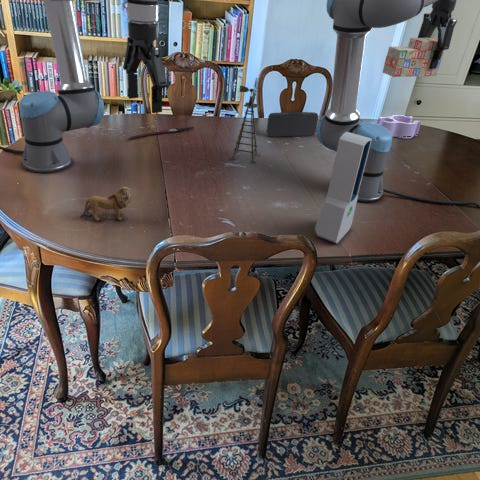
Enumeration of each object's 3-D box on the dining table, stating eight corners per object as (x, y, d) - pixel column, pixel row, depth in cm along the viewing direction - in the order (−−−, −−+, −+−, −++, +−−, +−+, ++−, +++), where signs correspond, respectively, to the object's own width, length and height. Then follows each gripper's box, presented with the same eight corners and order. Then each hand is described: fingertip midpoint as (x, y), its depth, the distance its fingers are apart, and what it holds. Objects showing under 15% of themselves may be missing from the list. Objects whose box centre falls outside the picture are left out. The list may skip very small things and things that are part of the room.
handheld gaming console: (312, 133, 210) (316, 111, 205) (315, 135, 208) (319, 113, 203) (265, 134, 203) (268, 112, 198) (267, 137, 201) (270, 114, 196)
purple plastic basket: (384, 139, 212) (388, 124, 209) (370, 129, 222) (373, 115, 218) (420, 137, 219) (425, 123, 215) (404, 128, 228) (409, 114, 225)
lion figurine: (131, 210, 139) (130, 182, 134) (134, 219, 134) (133, 191, 130) (79, 214, 134) (76, 186, 129) (80, 224, 129) (77, 195, 125)
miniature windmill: (253, 162, 176) (262, 82, 160) (231, 159, 177) (238, 78, 161) (257, 154, 184) (266, 76, 168) (236, 150, 185) (243, 72, 169)
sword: (190, 126, 202) (190, 124, 201) (194, 129, 200) (194, 126, 199) (124, 139, 186) (124, 136, 186) (127, 141, 184) (127, 139, 184)
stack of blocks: (393, 77, 167) (402, 40, 160) (381, 73, 172) (390, 37, 165) (436, 76, 176) (447, 41, 169) (424, 71, 180) (434, 37, 174)
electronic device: (336, 245, 132) (360, 146, 116) (312, 236, 135) (332, 138, 119) (351, 228, 141) (376, 133, 125) (328, 220, 144) (350, 126, 128)
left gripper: (182, 30, 112) (180, 116, 124) (133, 13, 128) (136, 91, 140) (154, 31, 108) (155, 120, 120) (108, 13, 124) (112, 93, 135)
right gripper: (475, 1, 157) (452, 72, 169) (433, -6, 171) (415, 59, 183) (459, 1, 154) (437, 73, 166) (418, -7, 168) (400, 60, 180)
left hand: (144, 104), depth 130 cm, fingers open, 13 cm apart
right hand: (425, 66), depth 175 cm, fingers closed on stack of blocks, 6 cm apart
